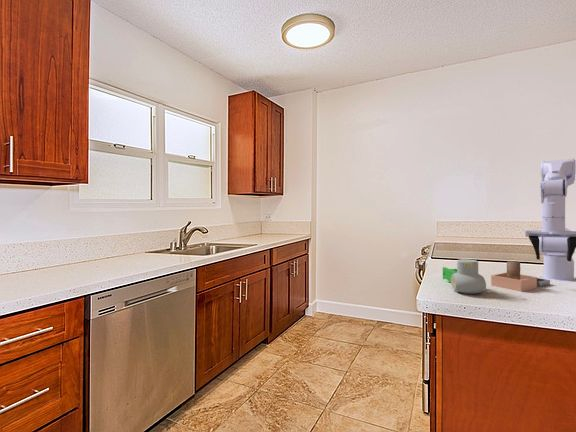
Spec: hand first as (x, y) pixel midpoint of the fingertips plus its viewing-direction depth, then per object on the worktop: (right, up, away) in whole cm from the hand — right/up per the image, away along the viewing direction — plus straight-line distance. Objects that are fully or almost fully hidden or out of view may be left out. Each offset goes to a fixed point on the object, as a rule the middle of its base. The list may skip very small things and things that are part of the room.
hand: (553, 259), depth 103 cm
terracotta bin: (-11, -10, +2) cm, 15 cm away
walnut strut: (-11, -9, +2) cm, 14 cm away
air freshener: (-28, -10, 0) cm, 29 cm away
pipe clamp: (-26, -10, +12) cm, 30 cm away
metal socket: (-2, -9, +5) cm, 11 cm away
